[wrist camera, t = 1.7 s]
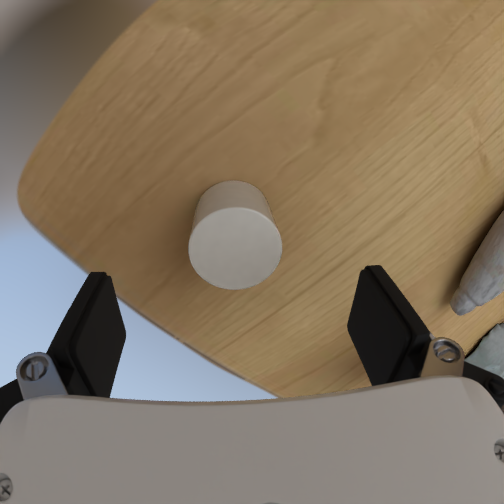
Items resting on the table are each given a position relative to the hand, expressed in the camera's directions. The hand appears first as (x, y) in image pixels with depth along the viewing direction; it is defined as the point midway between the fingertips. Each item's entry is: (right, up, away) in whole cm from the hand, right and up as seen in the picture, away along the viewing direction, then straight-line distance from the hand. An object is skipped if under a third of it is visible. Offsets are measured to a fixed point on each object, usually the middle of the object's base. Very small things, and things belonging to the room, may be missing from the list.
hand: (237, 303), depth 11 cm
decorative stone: (+21, +3, +9) cm, 23 cm away
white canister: (-1, +4, +6) cm, 7 cm away
